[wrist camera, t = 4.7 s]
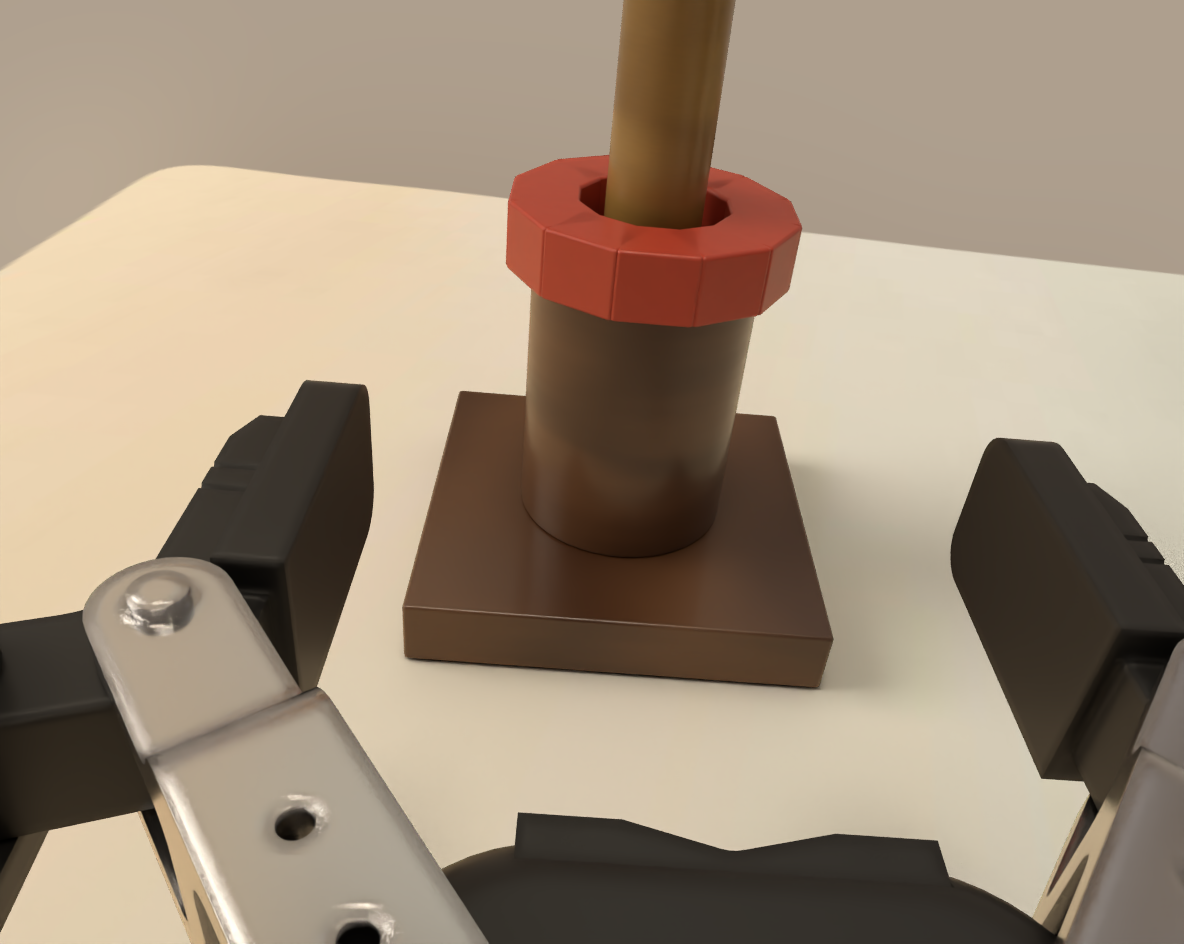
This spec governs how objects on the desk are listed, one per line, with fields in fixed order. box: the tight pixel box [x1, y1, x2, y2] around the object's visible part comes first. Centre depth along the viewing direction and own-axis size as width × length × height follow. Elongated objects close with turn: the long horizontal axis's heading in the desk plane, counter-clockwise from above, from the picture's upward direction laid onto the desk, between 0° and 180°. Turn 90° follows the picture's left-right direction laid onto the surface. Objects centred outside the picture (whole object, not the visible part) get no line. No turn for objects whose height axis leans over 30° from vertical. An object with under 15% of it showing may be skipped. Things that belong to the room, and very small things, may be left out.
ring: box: [506, 155, 802, 327], centre depth 20 cm, size 6×6×1 cm
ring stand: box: [402, 0, 834, 687], centre depth 20 cm, size 9×9×15 cm
